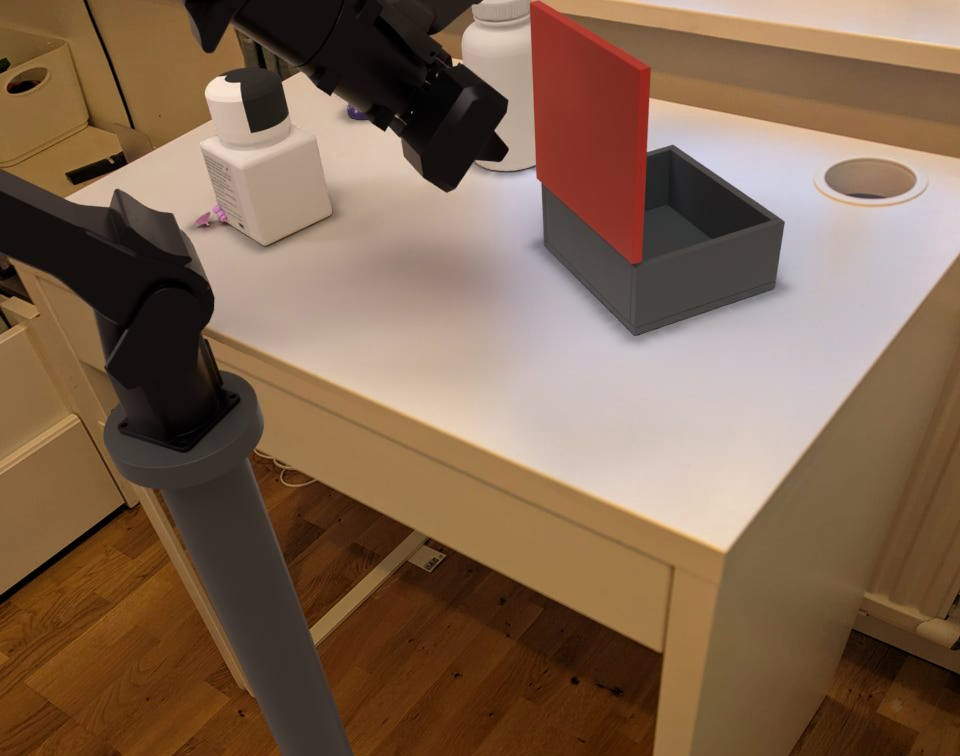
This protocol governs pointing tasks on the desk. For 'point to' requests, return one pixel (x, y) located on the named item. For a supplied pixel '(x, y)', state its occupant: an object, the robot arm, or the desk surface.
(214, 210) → the pink bumpy piece
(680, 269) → the box
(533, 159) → the pill bottle
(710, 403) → the desk surface
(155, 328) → the robot arm
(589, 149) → the lid
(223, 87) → the container
